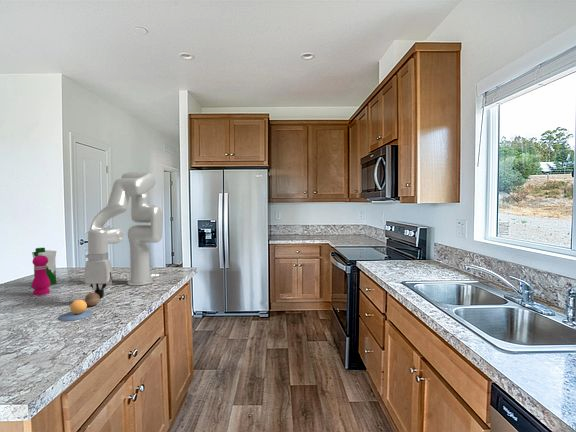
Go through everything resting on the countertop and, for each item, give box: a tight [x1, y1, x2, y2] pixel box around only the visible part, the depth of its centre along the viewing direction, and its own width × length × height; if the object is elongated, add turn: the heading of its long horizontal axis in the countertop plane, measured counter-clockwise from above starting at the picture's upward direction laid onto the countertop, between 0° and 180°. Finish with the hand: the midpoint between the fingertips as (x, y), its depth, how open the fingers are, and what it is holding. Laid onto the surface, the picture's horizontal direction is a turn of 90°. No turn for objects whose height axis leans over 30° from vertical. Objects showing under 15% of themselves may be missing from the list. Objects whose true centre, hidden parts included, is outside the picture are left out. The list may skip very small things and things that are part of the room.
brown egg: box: [84, 292, 101, 307], centre depth 137 cm, size 6×6×6 cm
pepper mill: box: [31, 252, 51, 296], centre depth 156 cm, size 7×7×20 cm
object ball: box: [69, 299, 88, 314], centre depth 127 cm, size 6×6×6 cm
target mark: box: [57, 310, 93, 322], centre depth 125 cm, size 11×11×1 cm
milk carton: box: [31, 247, 57, 286], centre depth 173 cm, size 9×9×20 cm
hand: (99, 298), depth 143 cm, fingers closed
